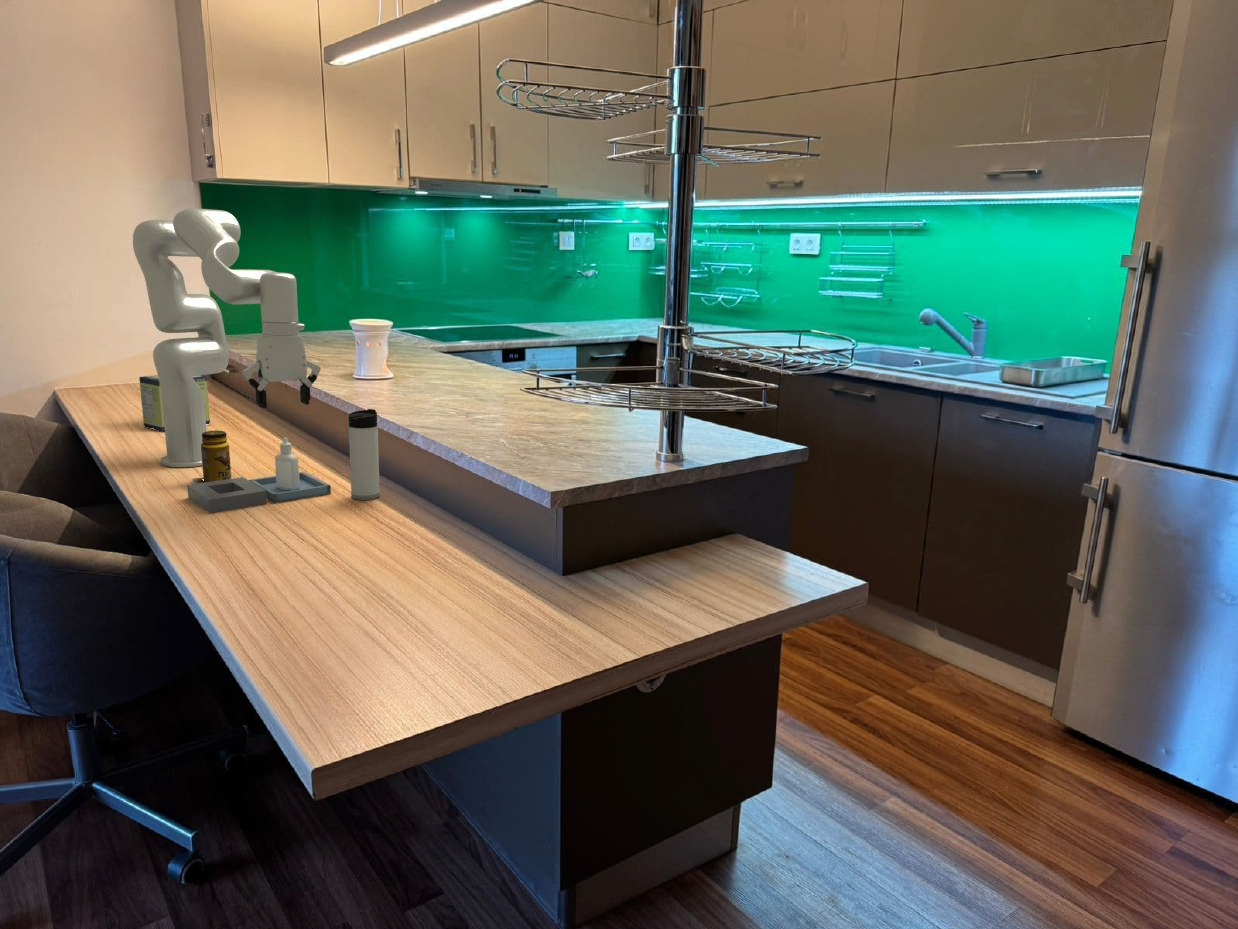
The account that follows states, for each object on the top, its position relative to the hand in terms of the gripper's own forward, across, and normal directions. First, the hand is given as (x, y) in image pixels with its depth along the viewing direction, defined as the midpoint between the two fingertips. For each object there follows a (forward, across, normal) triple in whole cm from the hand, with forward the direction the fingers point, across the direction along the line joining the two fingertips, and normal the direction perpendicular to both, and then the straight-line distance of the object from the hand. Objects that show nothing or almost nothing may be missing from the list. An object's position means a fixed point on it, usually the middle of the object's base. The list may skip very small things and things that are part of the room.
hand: (284, 405), depth 192 cm
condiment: (+21, +11, -17) cm, 29 cm away
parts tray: (+20, 0, +1) cm, 20 cm away
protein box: (+22, -1, -86) cm, 89 cm away
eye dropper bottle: (+20, 0, 0) cm, 20 cm away
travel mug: (+20, -12, +15) cm, 28 cm away
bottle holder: (+20, +14, +1) cm, 24 cm away
